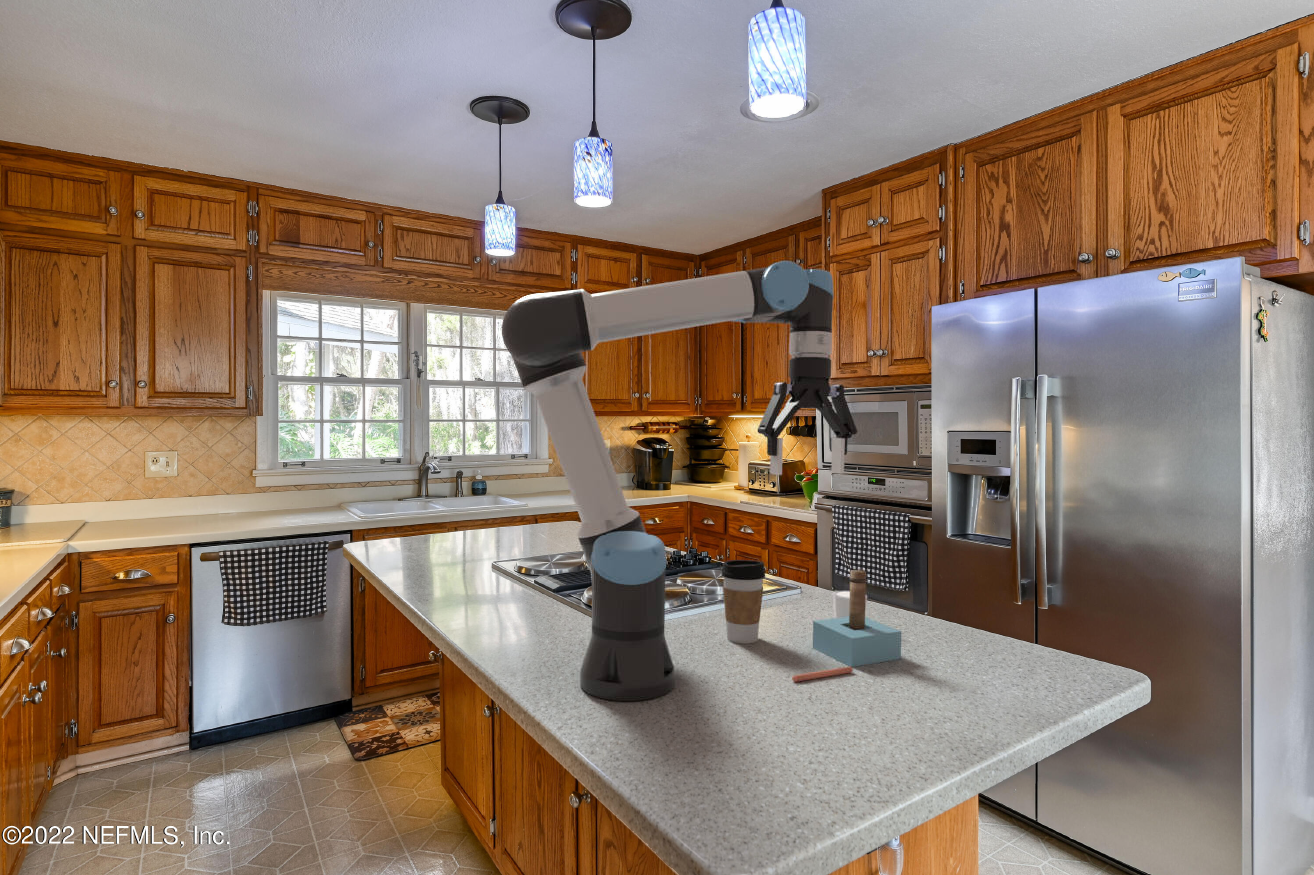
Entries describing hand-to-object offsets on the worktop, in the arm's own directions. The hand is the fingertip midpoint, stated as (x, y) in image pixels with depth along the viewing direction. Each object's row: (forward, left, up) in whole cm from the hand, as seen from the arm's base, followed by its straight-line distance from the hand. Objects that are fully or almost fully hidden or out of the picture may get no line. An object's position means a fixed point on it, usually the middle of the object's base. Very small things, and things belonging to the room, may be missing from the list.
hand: (807, 473), depth 131 cm
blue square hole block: (+8, -5, -33) cm, 34 cm away
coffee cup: (-7, +10, -33) cm, 35 cm away
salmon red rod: (-5, -12, -33) cm, 35 cm away
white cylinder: (+17, +8, -33) cm, 38 cm away
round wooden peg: (+8, -5, -33) cm, 34 cm away
